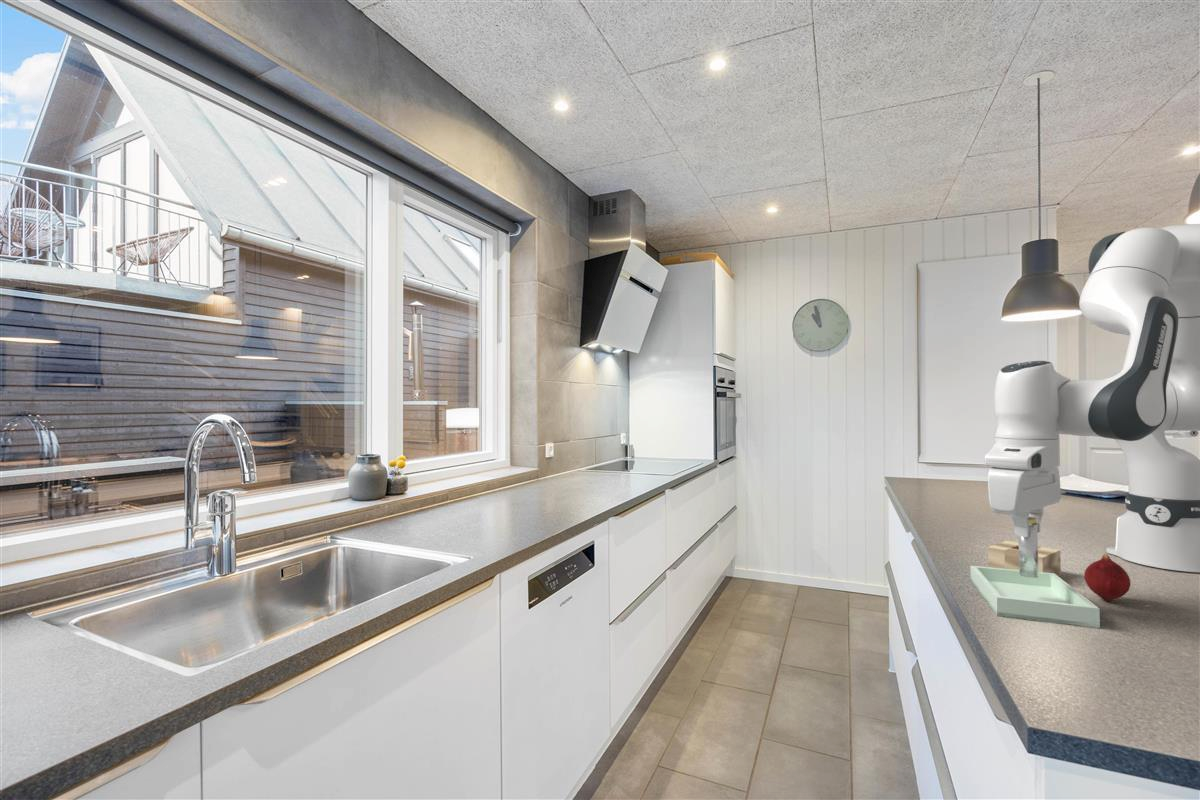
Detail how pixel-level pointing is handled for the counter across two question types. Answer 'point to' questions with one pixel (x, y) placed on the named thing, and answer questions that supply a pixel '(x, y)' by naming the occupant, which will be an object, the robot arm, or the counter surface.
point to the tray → (1034, 597)
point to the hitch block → (1008, 557)
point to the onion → (1107, 579)
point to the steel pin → (1029, 552)
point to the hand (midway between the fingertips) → (1027, 534)
